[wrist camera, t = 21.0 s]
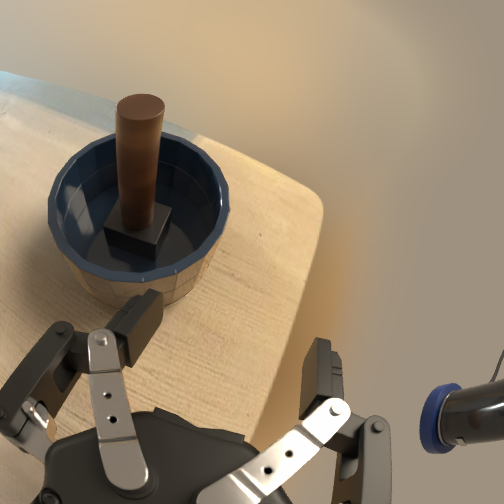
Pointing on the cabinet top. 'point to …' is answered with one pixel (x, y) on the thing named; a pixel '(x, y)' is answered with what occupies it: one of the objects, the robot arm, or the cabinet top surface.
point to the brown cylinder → (138, 178)
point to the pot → (167, 193)
